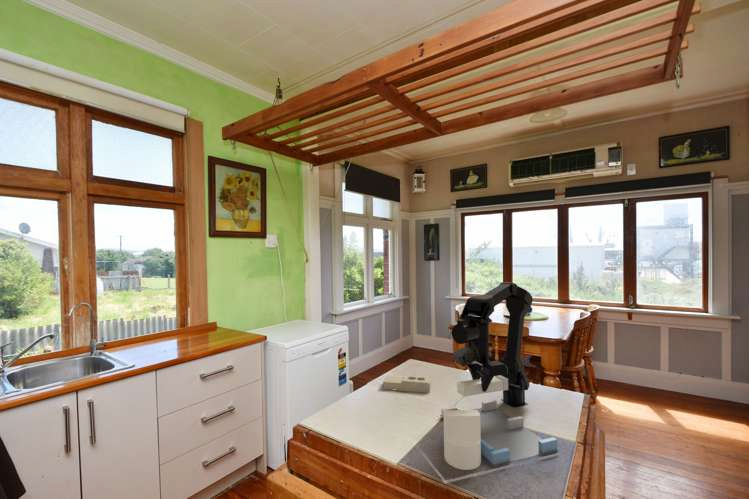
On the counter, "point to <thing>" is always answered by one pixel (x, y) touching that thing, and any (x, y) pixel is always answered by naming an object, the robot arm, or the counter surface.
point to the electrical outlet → (408, 383)
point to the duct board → (507, 436)
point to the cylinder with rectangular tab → (462, 438)
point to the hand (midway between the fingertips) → (480, 389)
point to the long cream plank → (476, 388)
